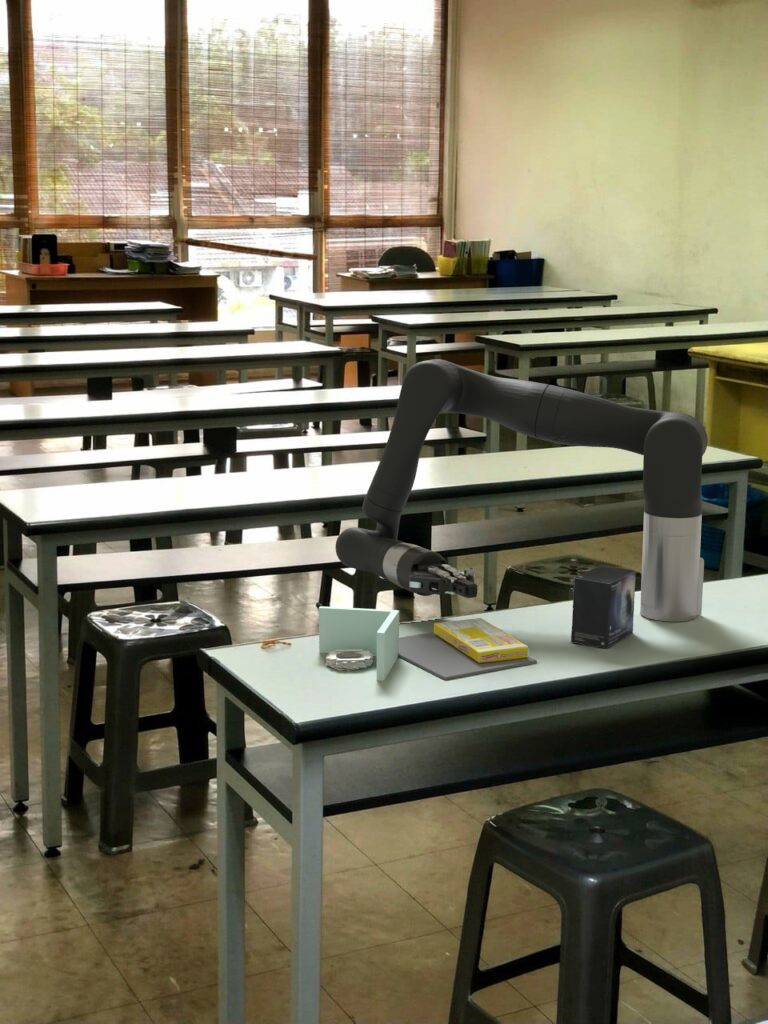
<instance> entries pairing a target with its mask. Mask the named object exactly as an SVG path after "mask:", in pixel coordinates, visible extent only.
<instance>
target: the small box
mask: <svg viewBox="0 0 768 1024" xmlns="http://www.w3.org/2000/svg"><path fill="white" fill-rule="evenodd" d="M636 571H637V570H633V569H626V568H621V567H615V566H610V565H605V564H600V565H599V566H596V567H593V568H592V569H590V570H587V571H585V572H583V573H581V574H579V575H576V576H574V578H573V590H572V591H573V595H572V596H573V597H572V620H571V633H570V634H571V635H570V643H572V644H578V645H579V644H580V645H585V646H590V647H596V648H601V649H608V648H610V647H611V646H614V645H615V644H617V643H618V642H620V641H622V640H623V639H626V638H627V637H629V636H631V635H632V634H634V615H635V596H636V595H635V593H636V592H635V591H636V575H637V574H636V573H637V572H636Z"/></svg>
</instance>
